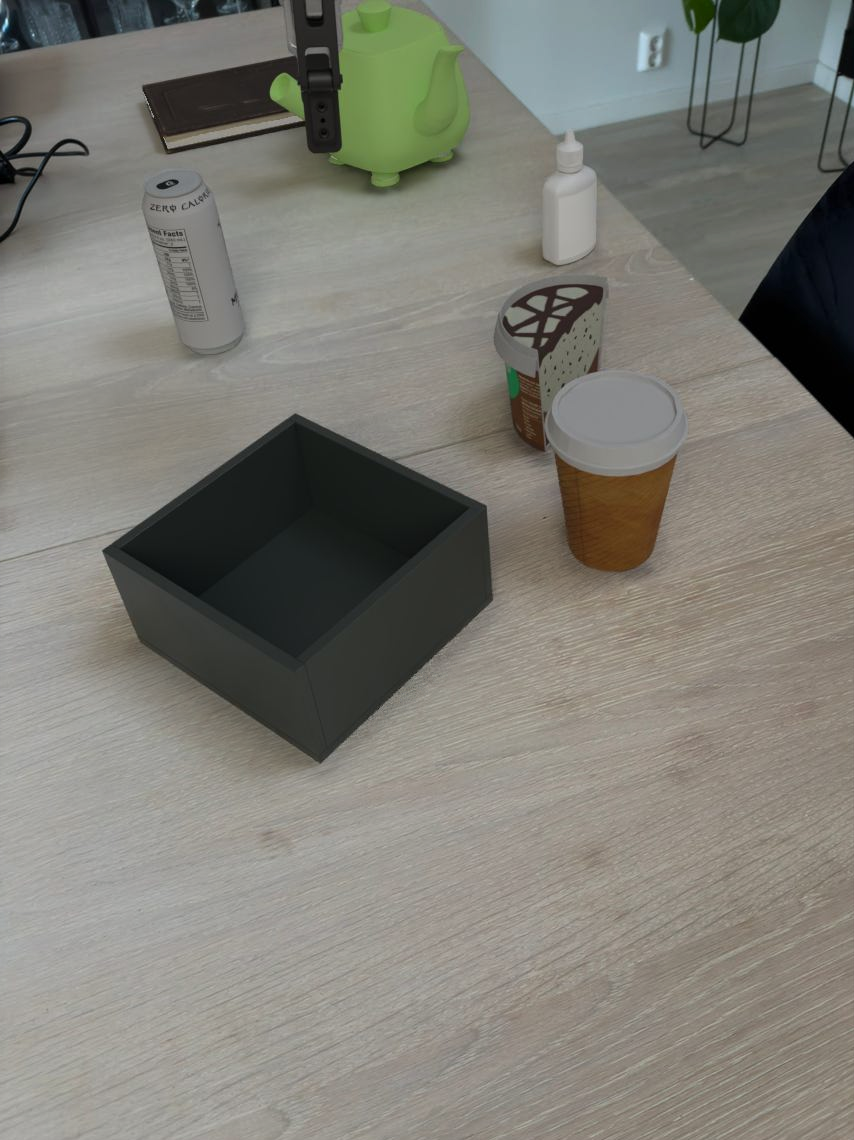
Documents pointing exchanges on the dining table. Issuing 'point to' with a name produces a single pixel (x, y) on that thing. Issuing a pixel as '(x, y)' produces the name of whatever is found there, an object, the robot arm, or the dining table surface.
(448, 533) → the bin
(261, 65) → the hardcover book
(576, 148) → the eye dropper bottle
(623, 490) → the disposable coffee cup
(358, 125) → the teapot
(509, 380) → the food container
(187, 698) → the dining table surface
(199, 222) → the energy drink can
